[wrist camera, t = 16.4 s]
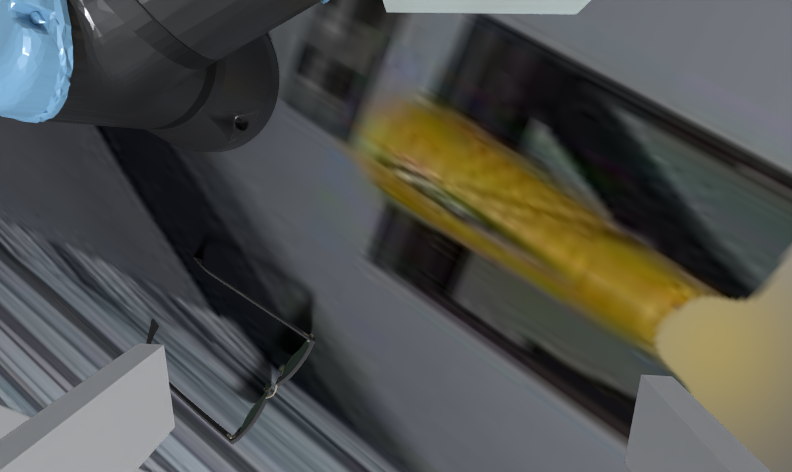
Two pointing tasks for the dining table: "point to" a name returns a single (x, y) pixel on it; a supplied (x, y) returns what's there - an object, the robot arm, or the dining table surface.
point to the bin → (487, 6)
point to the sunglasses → (260, 404)
